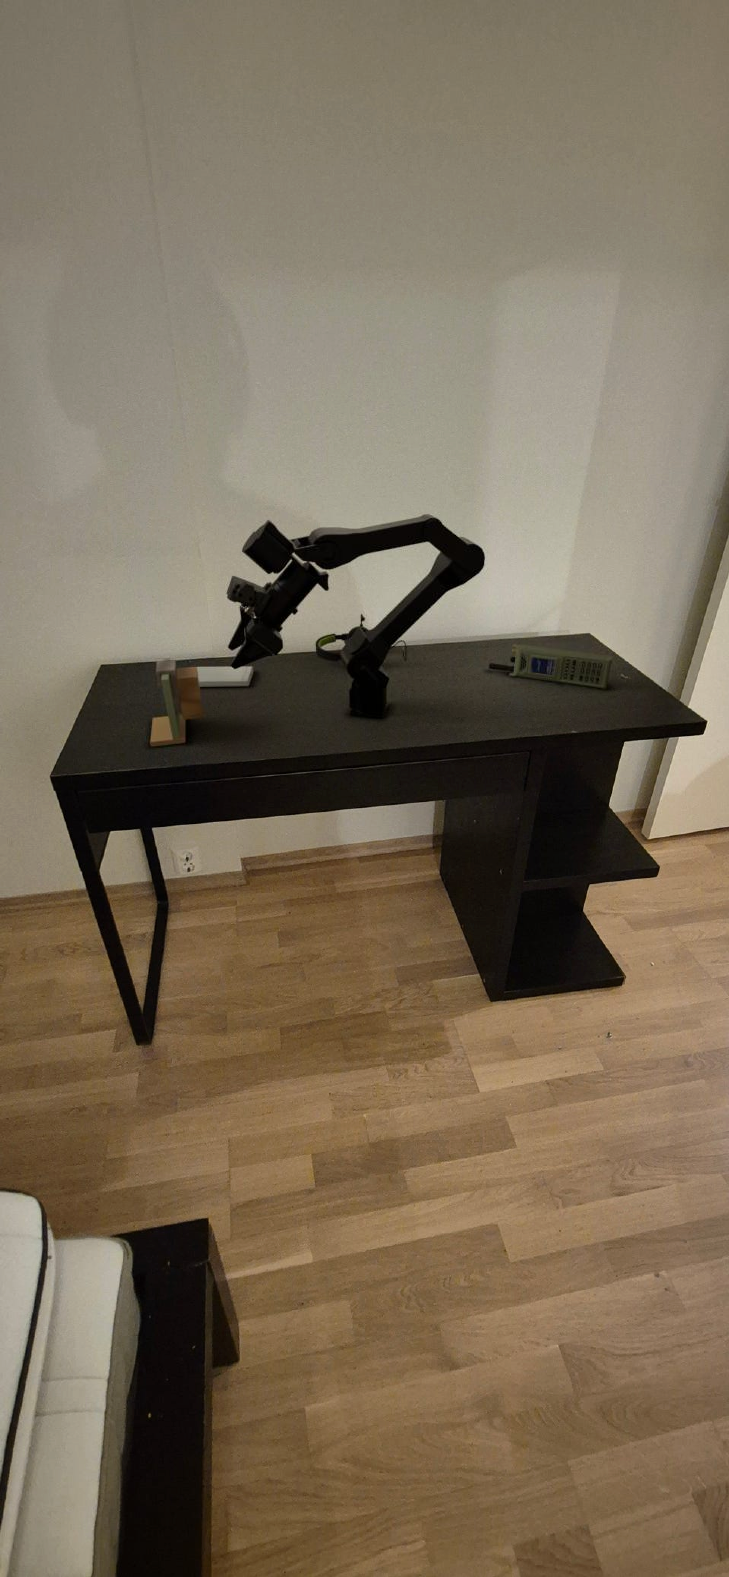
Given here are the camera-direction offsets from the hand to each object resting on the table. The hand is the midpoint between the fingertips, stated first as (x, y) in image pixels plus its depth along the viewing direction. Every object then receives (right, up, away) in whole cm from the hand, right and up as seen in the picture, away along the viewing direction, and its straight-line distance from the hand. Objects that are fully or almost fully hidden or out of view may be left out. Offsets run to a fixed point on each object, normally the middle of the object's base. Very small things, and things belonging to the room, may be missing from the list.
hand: (231, 657), depth 118 cm
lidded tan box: (-9, -10, +4) cm, 14 cm away
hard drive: (-7, 0, +25) cm, 26 cm away
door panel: (-13, -13, +5) cm, 19 cm away
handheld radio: (+63, 0, +24) cm, 67 cm away
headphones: (+23, +6, +34) cm, 42 cm away
